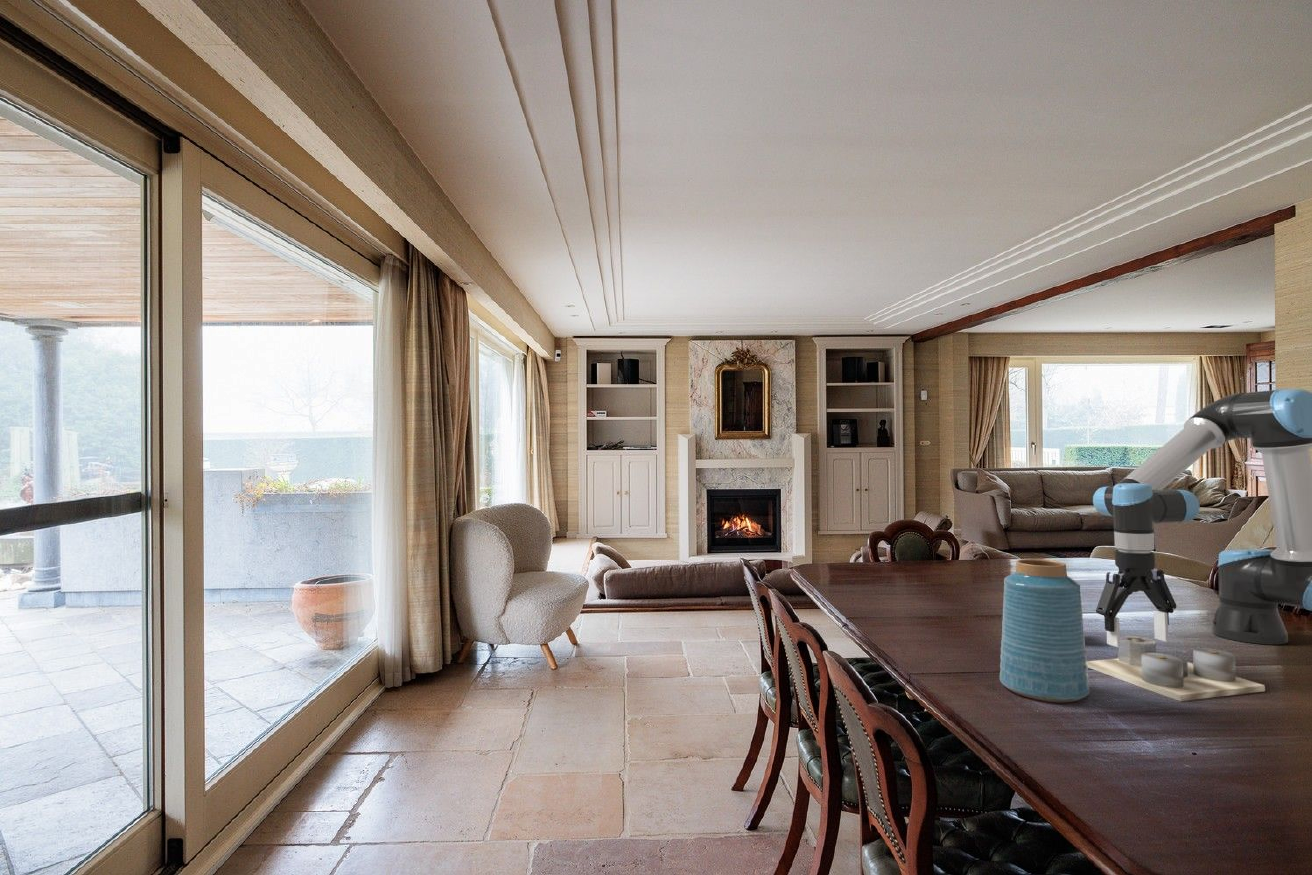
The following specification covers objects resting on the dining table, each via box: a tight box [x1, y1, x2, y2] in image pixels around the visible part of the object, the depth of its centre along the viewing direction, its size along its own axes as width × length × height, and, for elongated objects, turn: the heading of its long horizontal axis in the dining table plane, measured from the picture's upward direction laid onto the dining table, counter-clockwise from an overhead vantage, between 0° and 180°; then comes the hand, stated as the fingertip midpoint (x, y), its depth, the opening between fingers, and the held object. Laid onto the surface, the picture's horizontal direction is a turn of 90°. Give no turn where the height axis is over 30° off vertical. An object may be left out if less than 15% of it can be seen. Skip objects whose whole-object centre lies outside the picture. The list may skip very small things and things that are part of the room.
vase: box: [999, 558, 1090, 703], centre depth 141 cm, size 16×16×27 cm
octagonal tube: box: [1117, 635, 1157, 666], centre depth 155 cm, size 7×7×5 cm
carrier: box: [1087, 639, 1266, 702], centre depth 147 cm, size 22×22×6 cm
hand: (1137, 642), depth 155 cm, fingers open, 13 cm apart
